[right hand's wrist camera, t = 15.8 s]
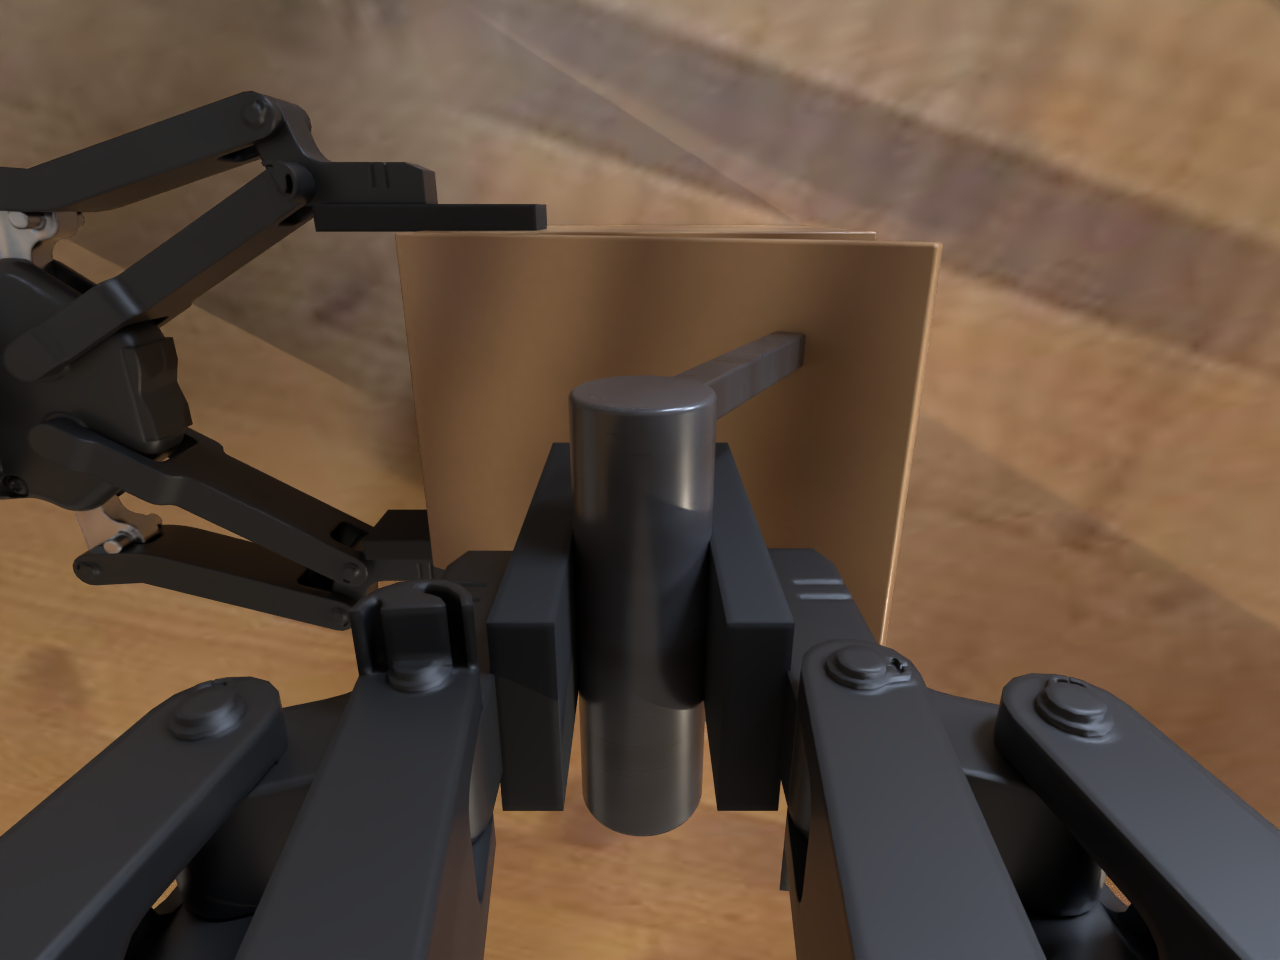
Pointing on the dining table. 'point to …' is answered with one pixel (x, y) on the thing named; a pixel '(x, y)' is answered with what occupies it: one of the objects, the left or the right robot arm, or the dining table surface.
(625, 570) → the lid
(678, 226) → the chest
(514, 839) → the dining table surface
